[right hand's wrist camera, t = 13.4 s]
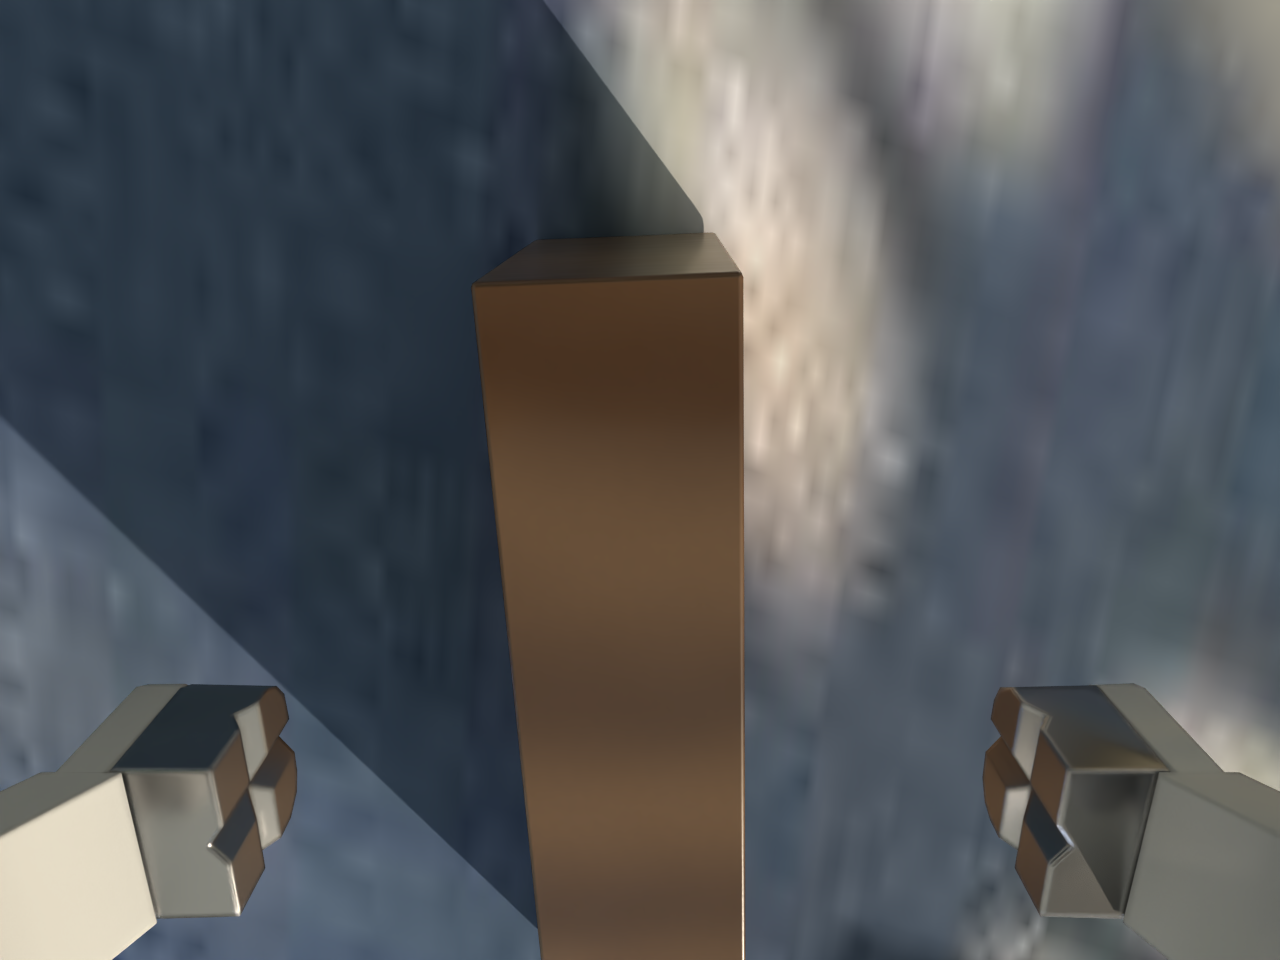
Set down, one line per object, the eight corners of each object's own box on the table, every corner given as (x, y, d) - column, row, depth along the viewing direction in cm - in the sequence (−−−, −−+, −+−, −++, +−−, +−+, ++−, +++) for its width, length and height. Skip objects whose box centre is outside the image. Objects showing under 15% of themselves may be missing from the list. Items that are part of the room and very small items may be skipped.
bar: (533, 239, 22) (469, 282, 15) (716, 231, 22) (743, 271, 15) (592, 984, 31) (570, 1250, 23) (725, 982, 31) (746, 1250, 23)
